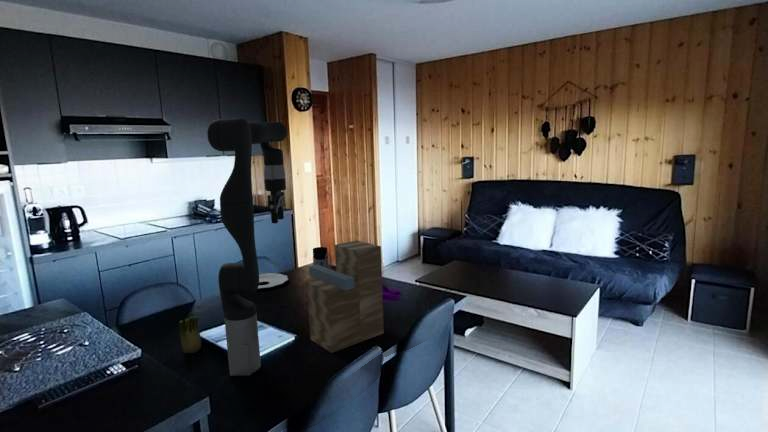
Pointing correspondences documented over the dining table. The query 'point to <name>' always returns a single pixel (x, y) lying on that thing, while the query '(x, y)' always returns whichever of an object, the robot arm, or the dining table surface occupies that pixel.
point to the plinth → (348, 299)
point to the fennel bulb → (190, 335)
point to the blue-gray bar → (331, 277)
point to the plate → (271, 280)
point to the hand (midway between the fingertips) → (277, 221)
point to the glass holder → (321, 257)
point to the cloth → (390, 294)
